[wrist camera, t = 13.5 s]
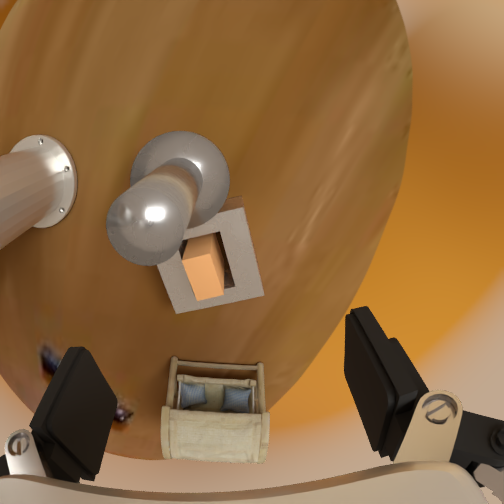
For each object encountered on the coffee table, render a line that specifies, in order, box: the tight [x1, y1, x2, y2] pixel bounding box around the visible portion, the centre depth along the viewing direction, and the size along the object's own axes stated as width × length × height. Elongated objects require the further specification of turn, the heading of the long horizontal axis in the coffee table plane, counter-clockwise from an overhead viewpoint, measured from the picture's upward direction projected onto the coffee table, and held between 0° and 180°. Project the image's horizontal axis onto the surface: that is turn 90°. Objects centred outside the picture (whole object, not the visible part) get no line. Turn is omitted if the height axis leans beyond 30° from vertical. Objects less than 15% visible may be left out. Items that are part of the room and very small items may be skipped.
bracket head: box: [106, 131, 264, 314], centre depth 29 cm, size 11×20×20 cm, turn 13°
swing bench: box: [161, 356, 270, 464], centre depth 43 cm, size 15×10×15 cm, turn 84°
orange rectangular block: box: [182, 232, 225, 301], centre depth 37 cm, size 3×5×8 cm, turn 14°
